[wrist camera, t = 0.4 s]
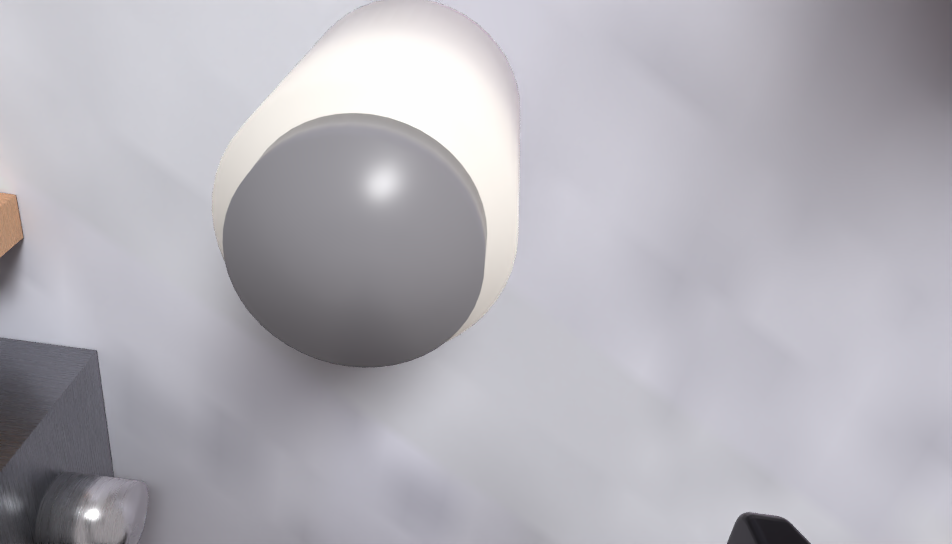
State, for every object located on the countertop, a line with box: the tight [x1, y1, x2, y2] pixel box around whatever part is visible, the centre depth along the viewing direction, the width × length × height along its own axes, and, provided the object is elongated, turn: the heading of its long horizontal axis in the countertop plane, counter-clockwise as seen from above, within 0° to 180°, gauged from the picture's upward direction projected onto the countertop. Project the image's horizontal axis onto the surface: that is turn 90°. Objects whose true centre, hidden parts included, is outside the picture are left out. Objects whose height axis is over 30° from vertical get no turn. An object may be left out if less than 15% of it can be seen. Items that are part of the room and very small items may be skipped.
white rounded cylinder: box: [212, 0, 520, 367], centre depth 15 cm, size 5×5×7 cm
